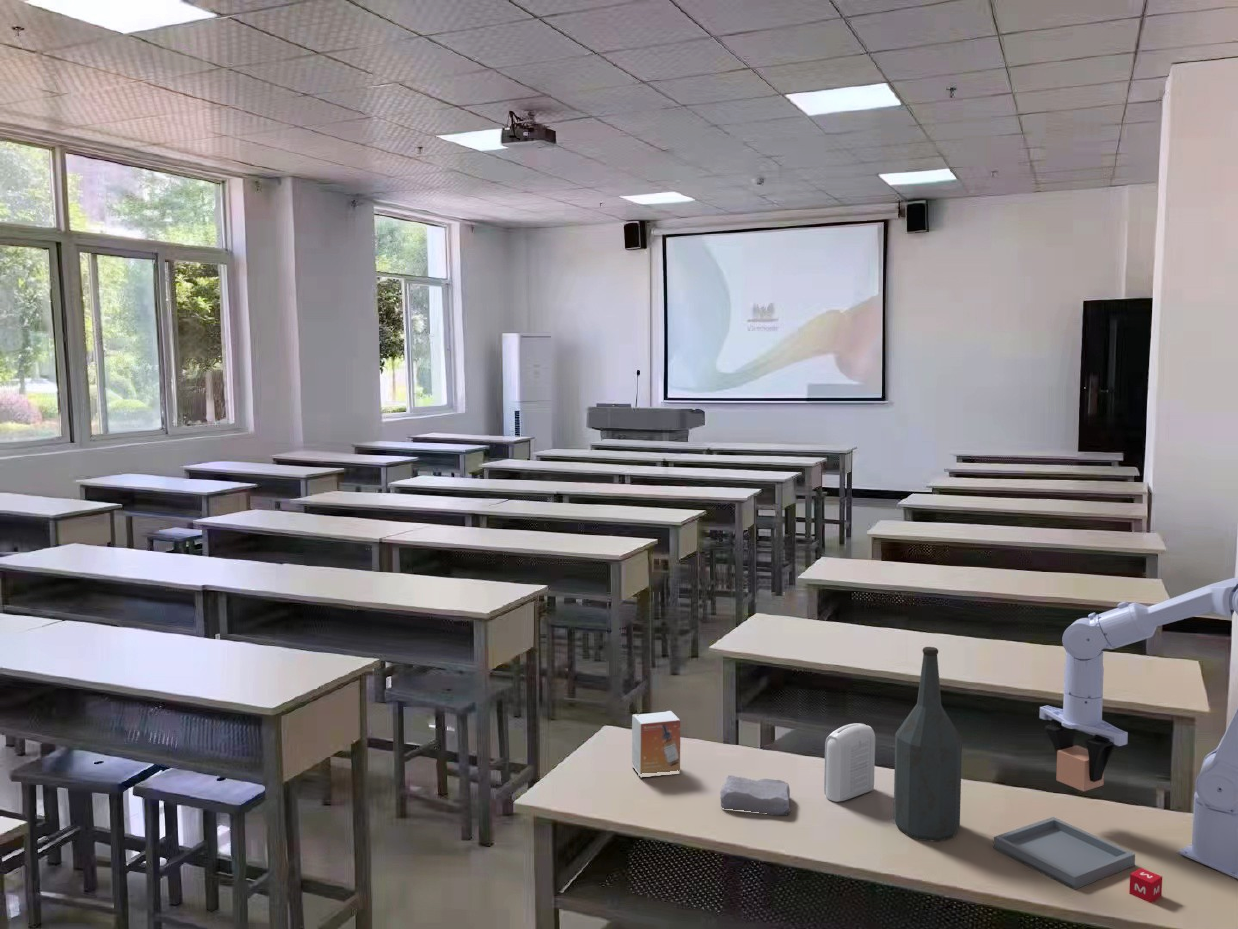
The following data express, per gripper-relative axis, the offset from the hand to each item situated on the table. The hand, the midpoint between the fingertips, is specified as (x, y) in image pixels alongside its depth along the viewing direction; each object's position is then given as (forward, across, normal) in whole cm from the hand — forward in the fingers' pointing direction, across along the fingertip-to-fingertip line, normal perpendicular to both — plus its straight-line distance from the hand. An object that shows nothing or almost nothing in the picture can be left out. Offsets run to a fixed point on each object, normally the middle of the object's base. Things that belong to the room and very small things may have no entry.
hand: (1080, 774), depth 155 cm
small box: (+9, -52, -50) cm, 73 cm away
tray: (+8, +6, -12) cm, 16 cm away
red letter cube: (+9, +19, -12) cm, 24 cm away
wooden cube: (+2, 0, 0) cm, 2 cm away
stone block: (+9, -32, -41) cm, 53 cm away
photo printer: (+9, -27, -25) cm, 38 cm away
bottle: (+9, -11, -23) cm, 27 cm away
